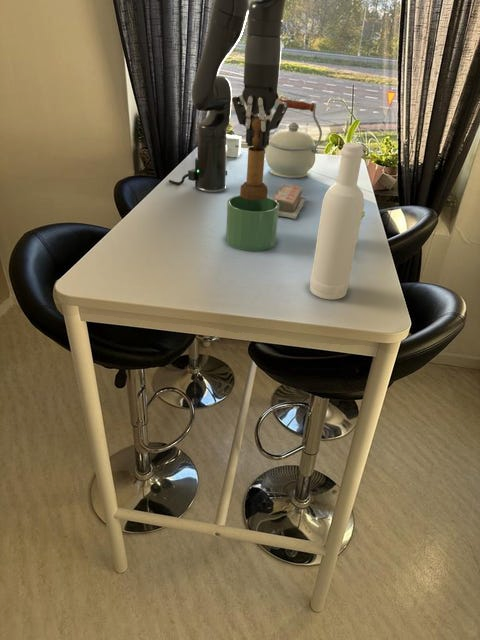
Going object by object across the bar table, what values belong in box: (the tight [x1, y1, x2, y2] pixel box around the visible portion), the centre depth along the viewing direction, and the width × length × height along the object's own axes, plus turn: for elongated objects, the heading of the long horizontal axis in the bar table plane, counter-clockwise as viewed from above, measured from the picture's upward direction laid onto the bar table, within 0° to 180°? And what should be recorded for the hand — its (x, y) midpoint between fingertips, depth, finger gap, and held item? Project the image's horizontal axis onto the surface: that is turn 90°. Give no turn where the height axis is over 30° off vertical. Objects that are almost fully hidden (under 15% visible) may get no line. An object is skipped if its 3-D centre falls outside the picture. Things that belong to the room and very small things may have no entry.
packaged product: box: [271, 184, 307, 220], centre depth 139 cm, size 18×5×10 cm
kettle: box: [264, 98, 323, 179], centre depth 167 cm, size 25×18×25 cm
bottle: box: [309, 142, 365, 301], centre depth 90 cm, size 8×8×30 cm
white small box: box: [226, 134, 242, 158], centre depth 189 cm, size 6×6×7 cm
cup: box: [225, 194, 280, 252], centre depth 115 cm, size 13×13×10 cm
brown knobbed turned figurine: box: [239, 115, 269, 200], centre depth 107 cm, size 7×6×18 cm
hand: (256, 146), depth 106 cm, fingers closed on brown knobbed turned figurine, 2 cm apart
